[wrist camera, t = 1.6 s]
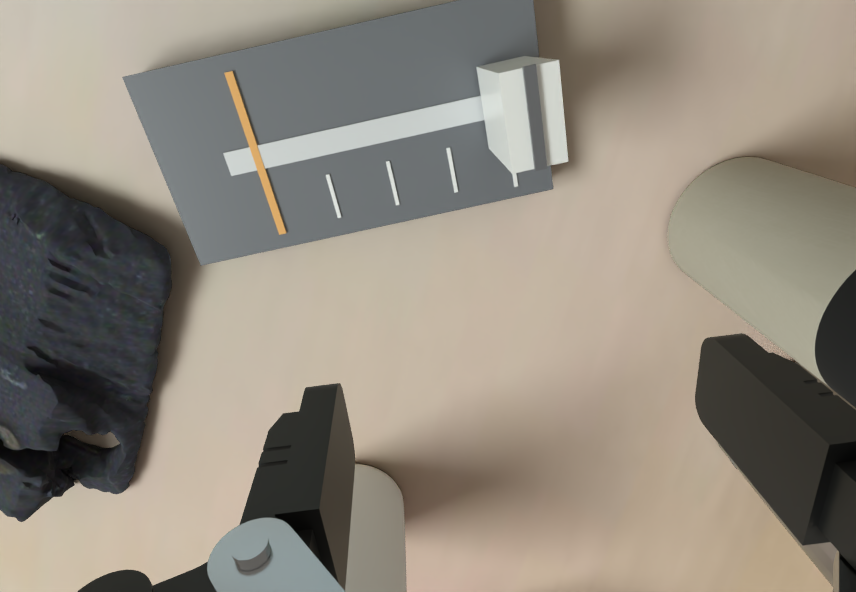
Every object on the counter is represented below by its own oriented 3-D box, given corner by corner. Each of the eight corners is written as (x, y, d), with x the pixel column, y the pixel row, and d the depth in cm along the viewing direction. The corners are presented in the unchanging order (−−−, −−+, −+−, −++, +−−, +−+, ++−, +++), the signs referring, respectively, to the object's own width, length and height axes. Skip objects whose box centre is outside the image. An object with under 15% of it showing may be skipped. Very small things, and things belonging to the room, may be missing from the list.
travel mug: (648, 195, 33) (906, 349, 16) (778, 130, 31) (1197, 227, 15) (684, 300, 36) (930, 517, 20) (804, 245, 35) (1172, 427, 18)
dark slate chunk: (228, 250, 33) (204, 281, 29) (125, 499, 40) (94, 553, 36) (-52, 127, 29) (-129, 142, 25) (-108, 428, 37) (-174, 480, 32)
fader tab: (524, 54, 27) (560, 58, 21) (534, 139, 28) (569, 163, 23) (476, 65, 27) (499, 72, 21) (488, 149, 28) (513, 176, 23)
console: (522, -13, 28) (532, -17, 26) (543, 180, 32) (553, 189, 30) (139, 74, 28) (121, 77, 26) (211, 253, 32) (200, 266, 30)
